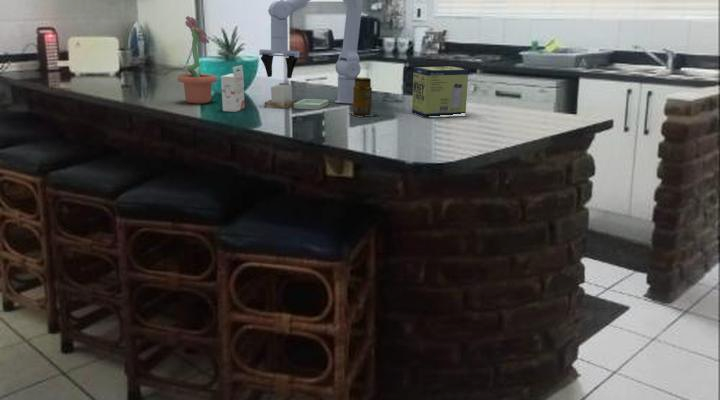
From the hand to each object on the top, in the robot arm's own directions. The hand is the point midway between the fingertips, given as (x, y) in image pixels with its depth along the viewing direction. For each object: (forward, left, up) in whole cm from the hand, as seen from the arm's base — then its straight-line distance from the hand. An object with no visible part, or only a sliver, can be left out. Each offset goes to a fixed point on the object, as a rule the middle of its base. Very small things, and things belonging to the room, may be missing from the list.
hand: (279, 77), depth 223 cm
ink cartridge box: (+12, +14, -10) cm, 20 cm away
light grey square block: (0, 0, -10) cm, 10 cm away
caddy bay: (0, 0, -10) cm, 10 cm away
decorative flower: (+30, +4, -10) cm, 31 cm away
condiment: (-32, +9, -10) cm, 35 cm away
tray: (-11, -2, -10) cm, 15 cm away
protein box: (-56, 0, -10) cm, 57 cm away
